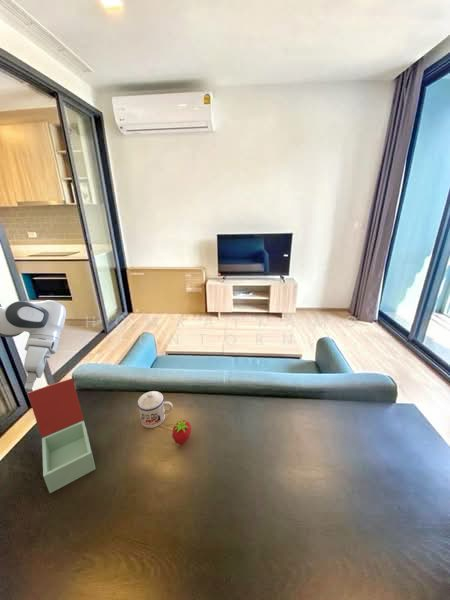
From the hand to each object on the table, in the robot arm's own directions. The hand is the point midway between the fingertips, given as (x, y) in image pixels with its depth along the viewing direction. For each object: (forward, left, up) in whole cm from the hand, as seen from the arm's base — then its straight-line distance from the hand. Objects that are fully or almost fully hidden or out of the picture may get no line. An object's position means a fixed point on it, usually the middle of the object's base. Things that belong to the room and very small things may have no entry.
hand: (28, 389), depth 79 cm
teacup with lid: (+34, -16, -20) cm, 43 cm away
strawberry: (+37, -31, -20) cm, 53 cm away
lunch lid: (+6, -8, -5) cm, 11 cm away
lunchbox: (+6, -16, -20) cm, 26 cm away
